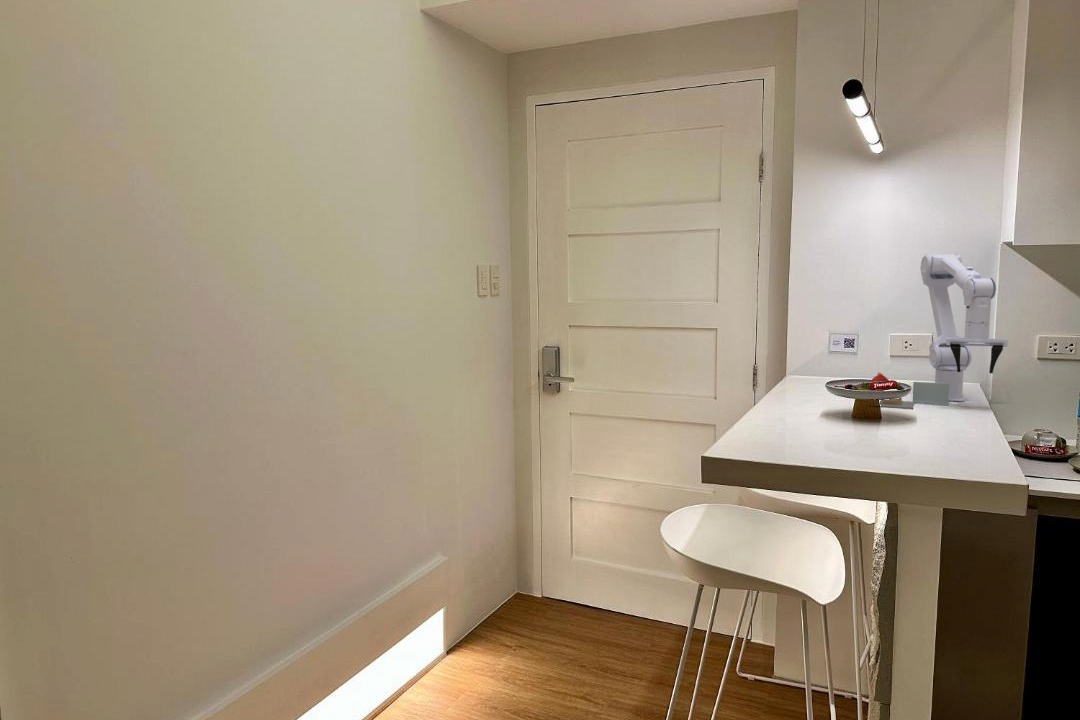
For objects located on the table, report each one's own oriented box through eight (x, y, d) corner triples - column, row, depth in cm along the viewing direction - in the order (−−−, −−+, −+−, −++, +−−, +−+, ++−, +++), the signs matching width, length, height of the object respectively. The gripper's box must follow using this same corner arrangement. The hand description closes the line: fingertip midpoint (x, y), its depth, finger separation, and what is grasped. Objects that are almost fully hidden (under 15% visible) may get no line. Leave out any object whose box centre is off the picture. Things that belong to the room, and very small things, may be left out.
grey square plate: (872, 400, 222) (872, 399, 221) (914, 403, 216) (914, 401, 216) (869, 406, 212) (869, 404, 212) (912, 409, 207) (912, 407, 207)
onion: (885, 397, 227) (887, 371, 226) (892, 400, 221) (894, 373, 220) (865, 397, 227) (866, 370, 227) (872, 400, 222) (873, 373, 221)
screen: (912, 401, 219) (913, 381, 218) (948, 403, 215) (949, 382, 214) (912, 403, 216) (913, 382, 215) (948, 405, 212) (949, 384, 211)
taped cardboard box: (883, 401, 217) (884, 385, 216) (901, 402, 215) (902, 386, 214) (882, 404, 213) (883, 388, 212) (900, 405, 211) (901, 389, 210)
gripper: (947, 323, 205) (944, 372, 206) (1009, 324, 198) (1006, 375, 199) (947, 321, 211) (944, 369, 212) (1007, 322, 204) (1005, 372, 205)
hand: (974, 372), depth 206 cm, fingers open, 7 cm apart
